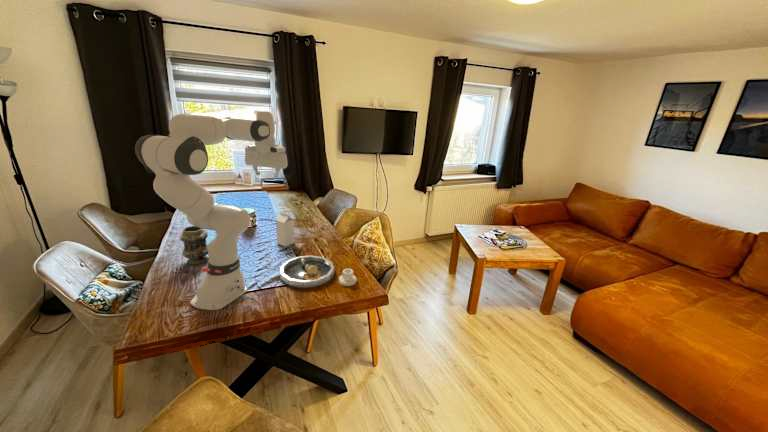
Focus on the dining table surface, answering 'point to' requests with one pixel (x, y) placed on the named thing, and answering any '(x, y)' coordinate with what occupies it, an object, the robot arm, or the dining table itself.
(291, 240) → the milk carton
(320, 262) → the grey round tray
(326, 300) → the dining table surface
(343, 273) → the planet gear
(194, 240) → the apothecary jar
